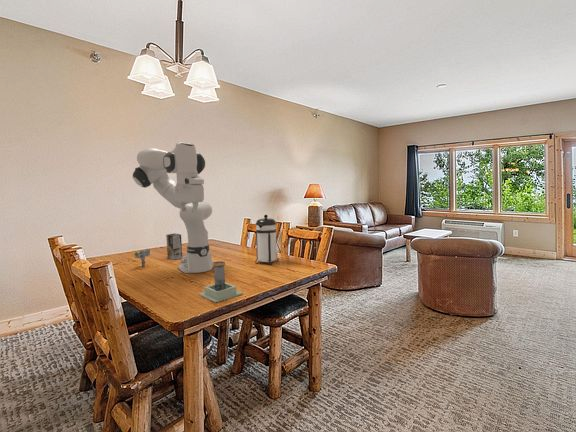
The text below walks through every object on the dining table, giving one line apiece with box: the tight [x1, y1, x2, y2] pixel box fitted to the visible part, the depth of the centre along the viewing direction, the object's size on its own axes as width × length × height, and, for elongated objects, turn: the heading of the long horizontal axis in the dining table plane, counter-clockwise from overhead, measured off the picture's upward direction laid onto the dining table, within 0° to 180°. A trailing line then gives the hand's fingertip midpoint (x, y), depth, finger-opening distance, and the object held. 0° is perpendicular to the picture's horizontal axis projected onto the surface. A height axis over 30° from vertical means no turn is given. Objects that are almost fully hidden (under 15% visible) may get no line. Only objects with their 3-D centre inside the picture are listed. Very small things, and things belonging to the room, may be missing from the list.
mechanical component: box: [134, 248, 151, 268], centre depth 186 cm, size 3×10×10 cm, turn 158°
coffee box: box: [165, 233, 183, 261], centre depth 207 cm, size 9×6×16 cm
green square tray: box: [198, 281, 244, 304], centre depth 138 cm, size 14×14×4 cm
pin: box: [212, 260, 226, 291], centre depth 137 cm, size 5×5×14 cm
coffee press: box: [254, 214, 279, 266], centre depth 193 cm, size 17×16×30 cm
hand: (189, 212), depth 136 cm, fingers open, 8 cm apart
